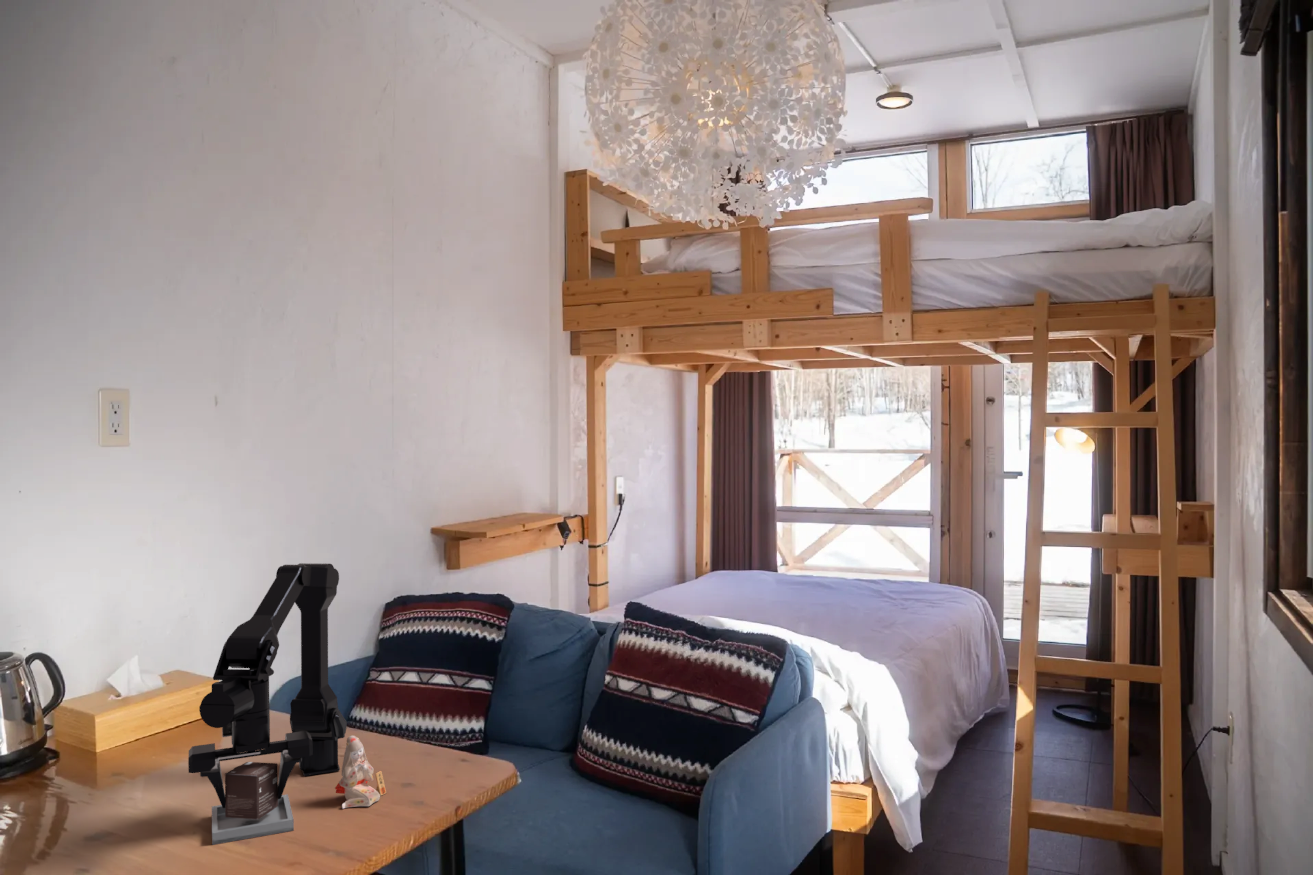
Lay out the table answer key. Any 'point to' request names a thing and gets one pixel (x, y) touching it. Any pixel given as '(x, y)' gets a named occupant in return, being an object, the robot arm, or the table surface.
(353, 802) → the figurine
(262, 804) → the box
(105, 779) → the table surface
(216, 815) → the tray
